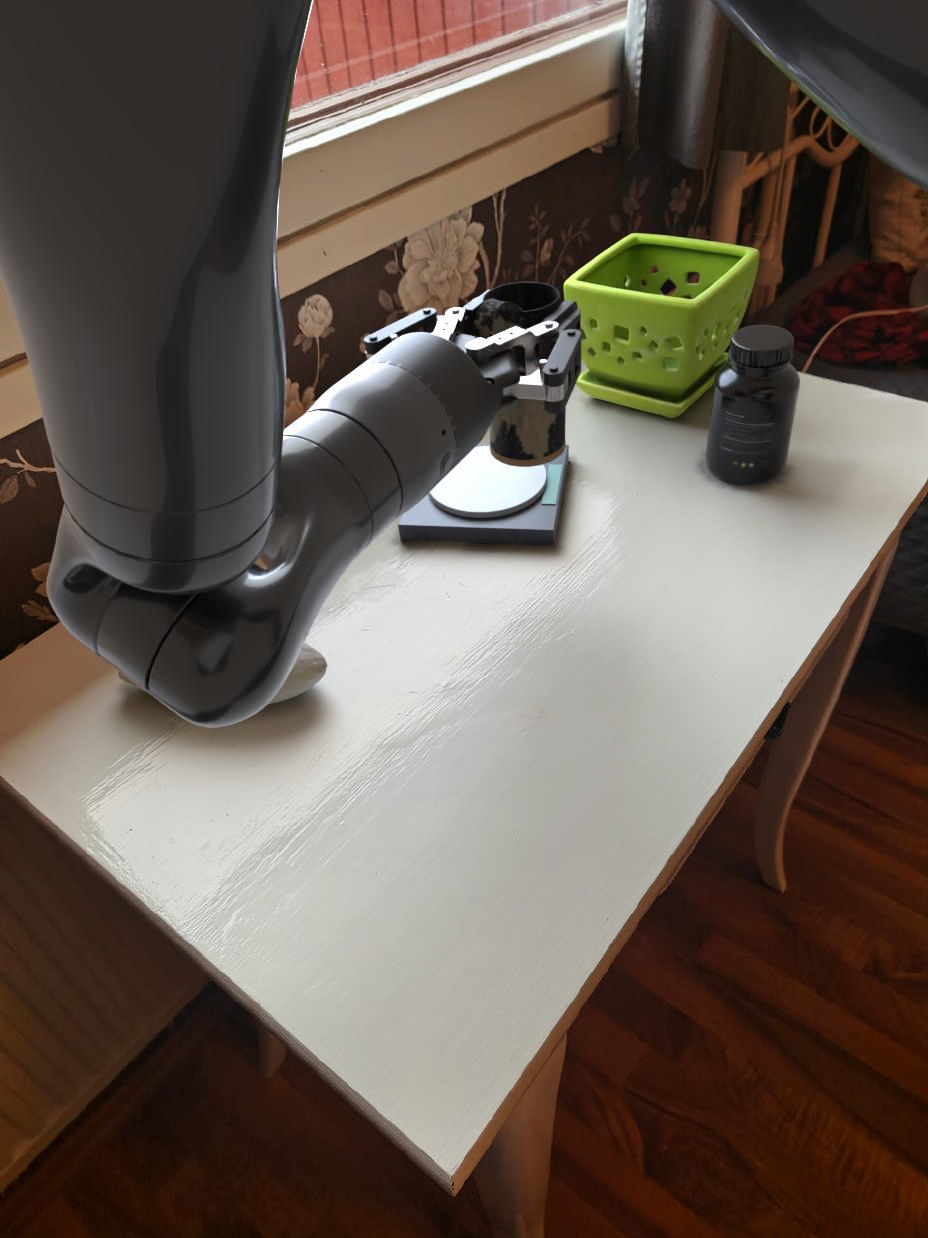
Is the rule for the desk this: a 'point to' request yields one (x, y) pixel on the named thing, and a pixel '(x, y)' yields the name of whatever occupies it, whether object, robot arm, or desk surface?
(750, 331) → the supplement bottle
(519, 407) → the mug
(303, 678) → the decorative stone
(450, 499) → the scale
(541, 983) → the desk surface
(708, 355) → the flower pot
